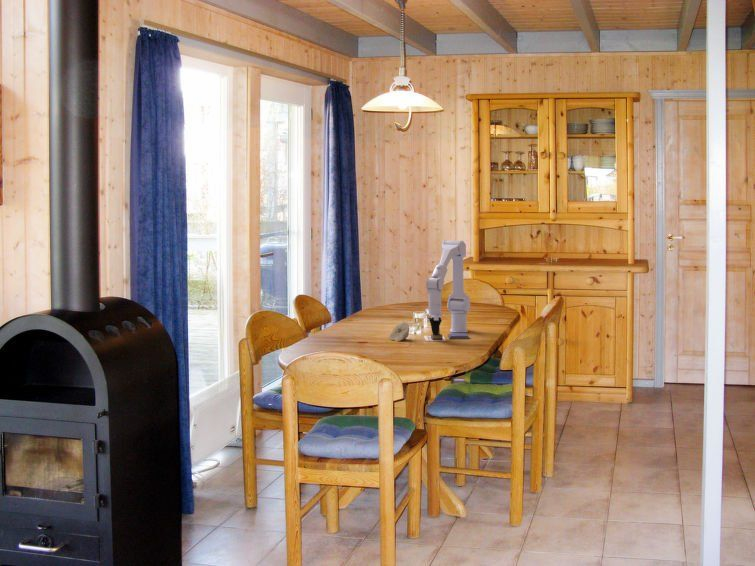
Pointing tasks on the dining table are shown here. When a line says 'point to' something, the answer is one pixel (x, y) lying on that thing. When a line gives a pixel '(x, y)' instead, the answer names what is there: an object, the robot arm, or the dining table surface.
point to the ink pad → (458, 336)
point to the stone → (400, 332)
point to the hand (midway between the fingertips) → (435, 334)
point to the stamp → (437, 336)
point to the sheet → (428, 338)
